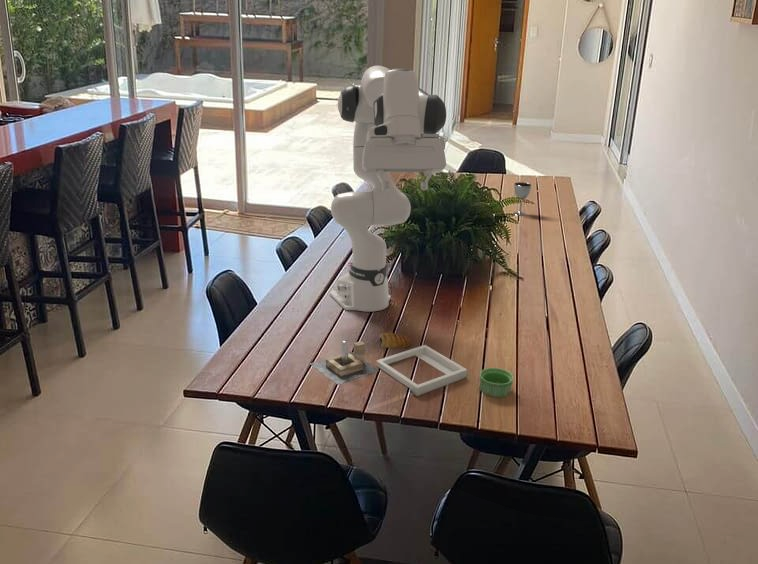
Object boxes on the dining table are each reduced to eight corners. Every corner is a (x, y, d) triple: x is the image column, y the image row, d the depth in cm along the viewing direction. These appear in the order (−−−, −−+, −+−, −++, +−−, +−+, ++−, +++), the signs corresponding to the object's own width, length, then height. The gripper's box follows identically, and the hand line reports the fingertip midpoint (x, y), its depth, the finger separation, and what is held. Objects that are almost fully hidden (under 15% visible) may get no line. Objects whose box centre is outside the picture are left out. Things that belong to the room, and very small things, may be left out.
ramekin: (508, 381, 195) (509, 367, 194) (515, 398, 187) (516, 384, 185) (475, 381, 195) (477, 367, 193) (481, 398, 187) (482, 383, 185)
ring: (325, 365, 198) (325, 346, 196) (354, 356, 204) (355, 337, 201) (340, 376, 192) (341, 356, 190) (370, 366, 198) (371, 347, 196)
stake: (309, 366, 199) (309, 337, 196) (350, 354, 207) (351, 326, 204) (337, 388, 189) (337, 358, 185) (379, 373, 197) (380, 344, 193)
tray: (375, 368, 199) (376, 360, 198) (424, 352, 210) (425, 344, 209) (416, 396, 186) (417, 388, 185) (466, 377, 196) (467, 369, 195)
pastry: (407, 339, 217) (408, 328, 216) (412, 350, 211) (413, 338, 210) (377, 341, 216) (377, 330, 214) (381, 351, 209) (382, 340, 208)
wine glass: (508, 211, 355) (511, 182, 349) (522, 211, 357) (526, 182, 351) (516, 216, 348) (519, 186, 342) (530, 215, 350) (534, 185, 344)
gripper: (441, 138, 176) (444, 192, 175) (360, 137, 173) (362, 192, 172) (447, 129, 170) (450, 186, 169) (363, 128, 167) (365, 186, 166)
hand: (405, 189), depth 170 cm, fingers open, 8 cm apart
